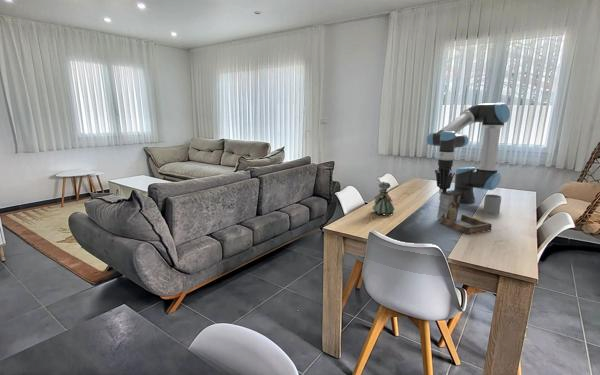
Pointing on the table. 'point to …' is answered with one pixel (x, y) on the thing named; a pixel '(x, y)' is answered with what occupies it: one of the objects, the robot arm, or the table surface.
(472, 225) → the cradle
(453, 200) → the coffee box
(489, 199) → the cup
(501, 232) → the table surface
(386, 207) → the figurine
